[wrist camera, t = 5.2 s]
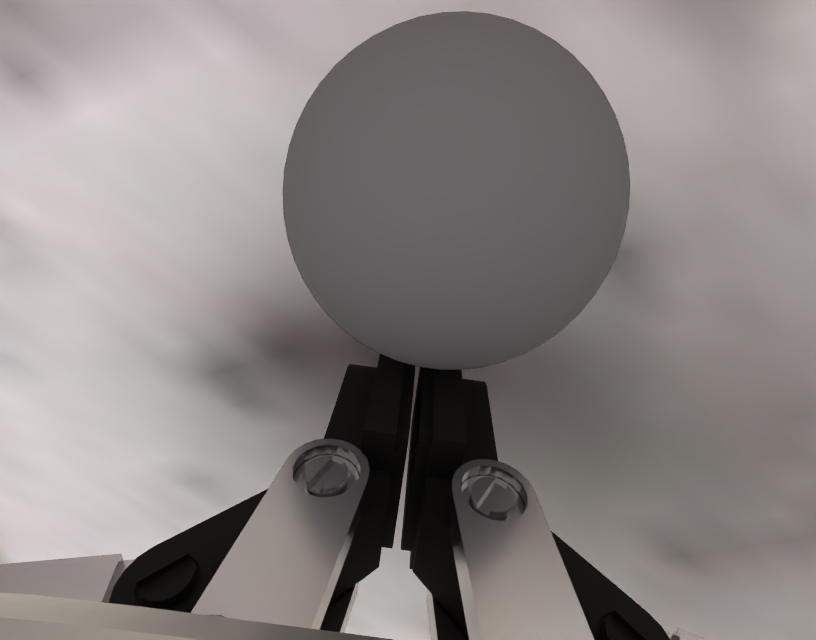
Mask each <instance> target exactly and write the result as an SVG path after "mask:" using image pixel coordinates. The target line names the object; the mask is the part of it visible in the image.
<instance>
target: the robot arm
mask: <svg viewBox="0 0 816 640" xmlns="http://www.w3.org/2000/svg"><path fill="white" fill-rule="evenodd" d="M414 377H415V365H411V364H407V363H403V362H399V361H397V360H394V359H392V358H389V357H387V356H384V355H382V354H380V357H379V362H378V366H377V368H375V367H367V366H360V365H352V364H350V365H349V366H348V368H347V371H346V374H345V377H344V380H343V383H342V386H341V389H340V392H339V395H338V398H337V401H336V404H335V407H334V410H333V413H332V416H331V419H330V422H329V425H328V428H327V431H326V434H325V437H324V439H320V440H315V441H312V442H309V443H306V444H304V445H302V446H301V447H299V448H298V449H296V450H295V451H294V452H293V453H292V454H291V455H290V456H289V457H288V459H287V460H286V462H285V463H284V465H283V466H282V468H281V470H280V471H279V473H278V474H277V476H276V478H275V479H274V481H273V482H272V484H271V486H270V487H269V489H267V490H265V491H263V492H261V493H259V494H257V495H255V496H253V497H251V498H249V499H247V500H245V501H243V502H241V503H239V504H237V505H235V506H233V507H231V508H229V509H227V510H225V511H223V512H221V513H219V514H217V515H215V516H213V517H211V518H209V519H207V520H205V521H203V522H201V523H200V524H198V525H196V526H194V527H192V528H190V529H188V530H186V531H184V532H182V533H180V534H178V535H176V536H174V537H172V538H170V539H168V540H166V541H164V542H162V543H160V544H158V545H156V546H154V547H153V548H151V549H149V550H148V551H146V552H145V553H143V554H142V555H140V556H139V557H137V558H136V559H135V560H124V561H123V558H122V555H121V554H113V555H102V556H90V557H79V558H68V559H56V560H45V561H34V562H22V563H11V564H0V640H392V639H385V638H377V637H370V636H362V635H355V634H347V633H344V632H345V629H346V626H347V623H348V620H349V616H350V613H351V610H352V607H353V604H354V601H355V598H356V594H357V590H358V584H359V581H361V580H362V579H363V578H365V577H366V576H367V575H369V574H370V573H371V572H373V571H374V570H375V569H377V568H378V567H379V562H380V555H381V547H386V548H392V547H393V540H394V534H395V527H396V520H397V514H398V507H399V500H400V493H401V487H402V480H403V473H404V466H405V460H406V453H407V446H408V438H409V430H410V420H411V409H412V398H413V387H414ZM401 550H408V551H411V554H410V569H413V572H414V573H415V575H416V576H417V577H418V578H419V579H420V581H421V582H422V583H423V584H424V585H425V586H426V588H427V609H428V617H429V626H430V635H431V640H708V639H706V638H703V637H700V636H697V635H695V634H692V633H689V632H686V631H684V630H681V629H677V630H676V631H675V633H674V634H671V633H668V632H666V631H664V629H663V628H662V626H661V625H660V624H659V623H658V622H657V621H656V620H655V619H654V618H653V617H652V616H651V615H650V614H649V613H648V612H647V611H645V610H644V609H643V608H642V607H641V606H639V605H638V604H637V603H636V602H635V601H634V600H632V599H631V598H630V597H629V596H628V595H626V594H625V593H624V592H623V591H622V590H620V589H619V588H618V587H617V586H616V585H615V584H613V583H612V582H611V581H610V580H609V579H607V578H606V577H605V576H604V575H603V574H602V573H600V572H599V571H598V570H597V569H596V568H594V567H593V566H592V565H591V564H590V563H589V562H587V561H586V560H585V559H584V558H583V557H581V556H580V555H579V554H578V553H577V552H576V551H574V550H573V549H572V548H571V547H570V546H568V545H567V544H566V543H565V542H564V541H562V540H561V539H560V538H559V537H558V536H557V535H555V534H554V533H553V532H552V531H551V530H550V528H549V526H548V523H547V521H546V518H545V516H544V513H543V511H542V508H541V506H540V503H539V501H538V498H537V496H536V493H535V491H534V489H533V488H532V486H531V484H530V483H529V481H528V480H527V479H526V478H525V477H524V476H523V475H522V474H521V473H520V472H519V471H517V470H515V469H514V468H512V467H511V466H509V465H507V464H504V463H502V462H499V461H498V458H497V452H496V445H495V438H494V432H493V425H492V418H491V412H490V405H489V398H488V392H487V386H486V383H485V382H482V381H475V380H467V379H462V371H461V370H440V369H433V368H425V367H420V370H419V377H418V384H417V391H416V397H415V404H414V411H413V418H412V426H411V438H410V449H409V460H408V472H407V483H406V494H405V506H404V517H403V528H402V540H401Z"/></svg>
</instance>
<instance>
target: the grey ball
mask: <svg viewBox="0 0 816 640" xmlns="http://www.w3.org/2000/svg"><path fill="white" fill-rule="evenodd" d="M629 195H630V176H629V163H628V157H627V152H626V147H625V143H624V138H623V135H622V132H621V129H620V126H619V124H618V121H617V118H616V115H615V113H614V111H613V109H612V107H611V105H610V103H609V101H608V100H607V98H606V96H605V94H604V92H603V91H602V89H601V88H600V86H599V85H598V84H597V82H596V81H595V79H594V78H593V77H592V75H591V74H590V72H589V71H588V70H587V69H586V68H585V67H584V66H583V65H582V64H581V63H580V62H579V61H578V60H577V59H576V58H575V56H574V55H573V54H571V53H570V52H569V51H567V50H566V49H565V48H564V47H562V46H561V45H560V44H559V43H557V42H556V41H555V40H553V39H552V38H550V37H548V36H546V35H545V34H543V33H541V32H540V31H538V30H536V29H534V28H532V27H530V26H527V25H525V24H522V23H520V22H517V21H515V20H512V19H508V18H504V17H500V16H496V15H492V14H486V13H476V12H442V13H437V14H431V15H426V16H421V17H417V18H414V19H411V20H408V21H405V22H402V23H399V24H396V25H394V26H392V27H390V28H388V29H386V30H384V31H382V32H380V33H378V34H376V35H374V36H372V37H371V38H369V39H368V40H366V41H365V42H363V43H362V44H360V45H359V46H357V47H356V48H354V49H353V50H352V51H351V52H350V53H349V54H347V55H346V56H345V57H344V58H343V59H342V60H341V61H339V62H338V63H337V64H336V65H335V66H334V67H333V69H332V70H331V71H330V72H329V73H328V74H327V75H326V77H325V78H324V79H323V80H322V81H321V82H320V84H319V85H318V87H317V88H316V90H315V91H314V93H313V94H312V96H311V97H310V99H309V100H308V102H307V104H306V106H305V108H304V110H303V112H302V114H301V116H300V118H299V120H298V122H297V124H296V127H295V130H294V133H293V136H292V139H291V142H290V145H289V149H288V154H287V159H286V163H285V168H284V181H283V209H284V220H285V226H286V232H287V238H288V241H289V245H290V248H291V251H292V254H293V258H294V261H295V263H296V265H297V267H298V270H299V272H300V274H301V276H302V278H303V280H304V282H305V284H306V285H307V287H308V289H309V290H310V292H311V294H312V295H313V297H314V298H315V300H316V301H317V302H318V303H319V305H320V306H321V307H322V308H323V310H324V311H325V312H326V313H327V315H328V316H329V317H330V318H331V319H332V320H333V321H334V322H336V323H337V324H338V325H339V326H340V327H341V328H342V329H343V330H344V331H345V332H347V333H348V334H349V335H351V336H352V337H353V338H355V339H356V340H357V341H359V342H360V343H362V344H363V345H365V346H367V347H369V348H370V349H372V350H374V351H376V352H378V353H380V354H382V355H384V356H387V357H389V358H392V359H394V360H397V361H399V362H403V363H407V364H411V365H415V366H418V367H425V368H433V369H440V370H463V369H471V368H479V367H485V366H489V365H493V364H497V363H501V362H504V361H507V360H510V359H512V358H515V357H517V356H520V355H522V354H525V353H527V352H528V351H530V350H532V349H534V348H536V347H537V346H539V345H541V344H543V343H545V342H546V341H547V340H549V339H550V338H551V337H553V336H554V335H556V334H557V333H558V332H560V331H561V330H562V329H563V328H565V327H566V326H567V325H568V324H569V323H570V322H571V321H572V320H573V319H574V318H575V317H576V316H577V315H578V314H579V313H580V312H581V311H582V310H583V308H584V307H585V306H586V305H587V304H588V302H589V301H590V300H591V299H592V297H593V296H594V295H595V293H596V292H597V290H598V289H599V287H600V285H601V284H602V282H603V281H604V279H605V278H606V276H607V274H608V272H609V270H610V268H611V266H612V264H613V262H614V259H615V257H616V255H617V253H618V250H619V247H620V244H621V240H622V237H623V234H624V231H625V226H626V220H627V215H628V210H629Z"/></svg>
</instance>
